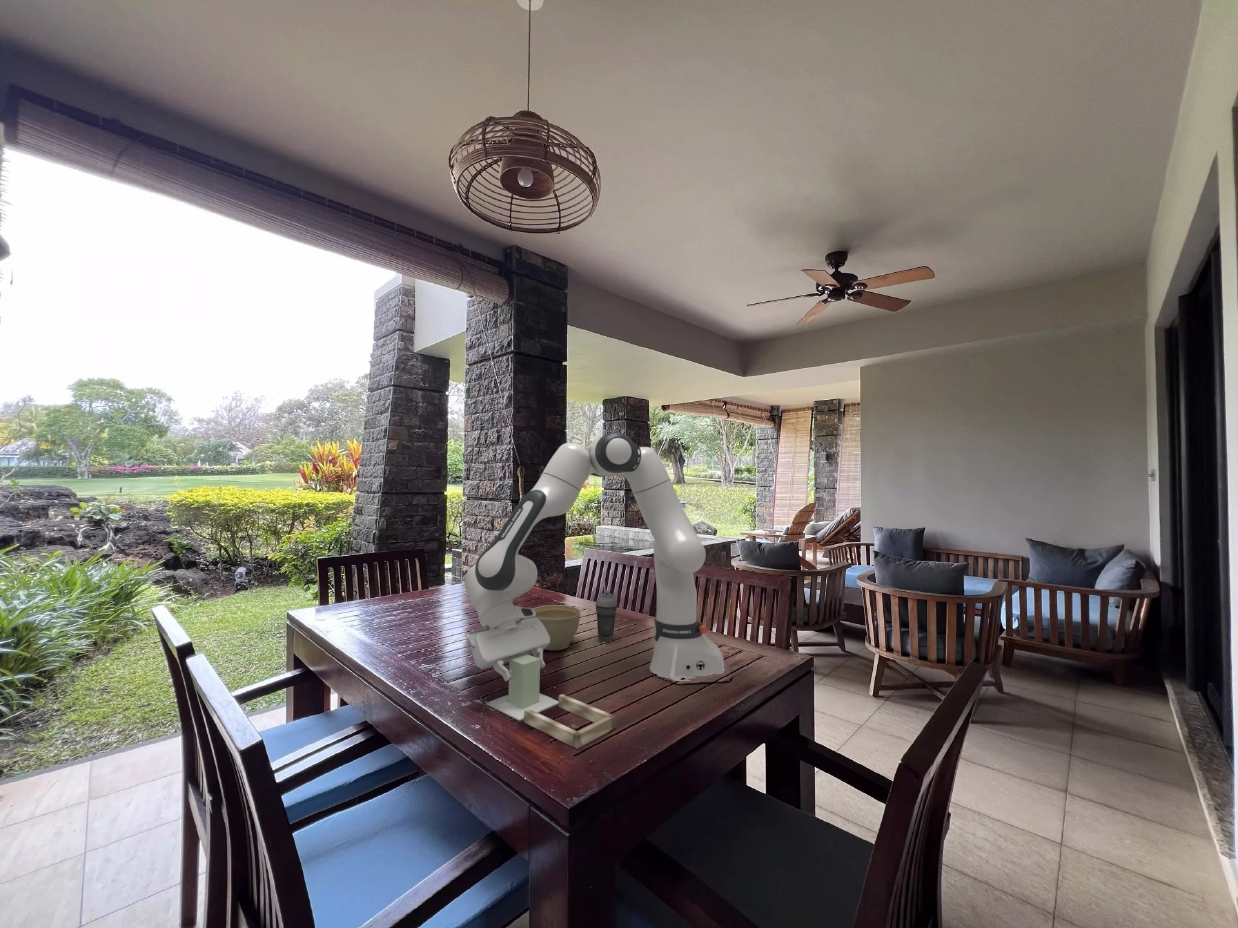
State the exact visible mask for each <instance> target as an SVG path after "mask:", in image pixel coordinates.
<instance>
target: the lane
mask: <svg viewBox="0 0 1238 928" xmlns="http://www.w3.org/2000/svg"><path fill="white" fill-rule="evenodd" d="M558 701H559V704H557V706H558V707H559V708H560V709H563V710H565V711H567V712H569V713H572V714H574V715H577V716H579V717H581V718H583V719H585V720H588V721H590V722H592V723H591V724H590V725H588V726H586V727H584V728H582V729H581V730H578V731H576V730H575V729H572V728H570V727H569V726H566V725H564V724H562V723H560V722H558V721H556V720H553V719H552V718H549V717H547V716H545V715H543V714H541V713H540V712H539V713H537V712H535V711H533V710H530V709H526V710H524V719H523V723H524V724H526V725H529V726H530V727H533V728H534V729H536V730H539V731H541V732H543V733H545V734H546V735H547V736H551V737H552V738H555V739H557V740H559V741H561V743H564V744H566V745H568V746H571V747H572V748H574V749H576V750H578V749H580V748H582V747H584V746H585V745H587V744H589V743H590V742H593V741H594V740H596V739H599V738H600V737H602V736H603V735H605V734H607V733H609V732H610V730H611V731H612V729H613V730H615V729H616V715H613V714H611V713H609V712H606V711H605V710H601V709H599V708H598V707H597V708H596V707H594V706H592V705H589V704H587V703H585V702H582V701H580V700H577V699H575V698H573V697H570V696H568V695H566V694H563V693H562V694H559V695H558ZM614 728H615V729H614Z"/></svg>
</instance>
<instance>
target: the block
mask: <svg viewBox="0 0 1238 928" xmlns="http://www.w3.org/2000/svg"><path fill="white" fill-rule="evenodd" d="M508 665H509V669H508V670H510V669H511V671H512V673H513V675H514V676H513V678H512V679H511V680H508V695H509V697H508V703H510V704H512V705H514V706H516V707H519V708H521V709H524V708H526V707H529V706H531V705H533V704H536V703H538V702H539V693H540V686H541V685H540V684H541V683H540V681H541V680H540V679H541V678H540V677H541V674H540V673H541V669H540V659H539V658H536V656H535V657H534V655H531V654H529V655H528V654H524V655H521V656H518V657H515V658H512V659H510V661H509V664H508Z"/></svg>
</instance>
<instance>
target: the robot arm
mask: <svg viewBox="0 0 1238 928" xmlns="http://www.w3.org/2000/svg"><path fill="white" fill-rule="evenodd" d="M617 474H621V475H622V476H623V477H624V478H625V480H626V481H627V482H628V483H629V485H630V489H631V492H632V494H633V497H634V498H635V501H636V504H637V506H638V509H639V510H640V513H641V516H642V518H643V521H644V523H645V524H646V526H647V528H648V530H649V531H650V533H651V535H652V537H653V545H652V546H653V547H652V548H653V560H654V561H653V563H654V575H655V583H656V617H655V618H654V626H653V630H654V631H653V637H654V646H653V653H652V658H651V662H650V665H649V668H650V670H651V672H653V673H654V674H657V675H658V676H662V677H665V678H670V679H672V680H674V681H690V680H688V679H691V678H696V677H694V676H707V675H712V674H722V673H724V671H725V669H724V663H725V662H724V655H723V653H722V651H721V649H720V648H719V647H718V646H717V644H715V643H714V642H713V641H712V640H710V639H709V637H707V636H706V635H705V634H707V633H708V628H707V626H706V625H704V623H703V622H701V620H699V619H697V607H698V606H697V601H698V599H697V598H698V596H697V594H698V593H697V587H696V584H695V577H694V573H696V572H697V571H699V570H700V569H701V568H702V567H703V566H704V564H705V562H706V556H707V555H706V549H705V547H704V544H703V542H702V541H701V540H700V538H699V536H698V534H697V532H696V530H695V528H694V526H693V525H692V522H691V521H690V518H689V517H688V515H687V513H686V512H685V510H684V508H683V506H682V503H681V502H680V499H679V497H678V494H677V492H676V489H675V488H674V487H675V486H674V485H673V483H672V480H671V478H670V475H669V473H668V471H667V469H666V467H665V465H664V463H663V461H662V459H661V458H660V456H659V455H658V453H657V452H656V451H655V450H654V449H653V448H651V447H649V446H641V447H640V446H638V445H637V443H635V442H633V440H632V439H631V438H630V437H628V436H627V435H626V434H624V433H621V432H615V431H614V432H613V431H612V432H609V433H606V434H603V435H601V436H599V437H596V438H595V439H594V440H593V441H592V442H590V443H589V444H587V445H585V446H582V445H580V444H578V443H574V442H565V443H563V444H561V445H560V446H559V447H558V448H557V449H556V451H555V453H554V454H553V455H552V456H551V458H550V459H549V461H548V463H547V464H546V466H545V467H544V470H543V471H542V474H541V475H540V477H539V479H538V480H537V482H536V483H535V484H534V486H533V488H532V489H530V491H529V492H527V493H526V494H524V496H523V497H522V498H521V500H519V503H518V504H517V505H516V507H515V508H514V510H513V511H512V513H510V516H509V517H508V518H507V520H506V522H505V523H504V525H503V526H502V527H501V529H500V531H499V533H498V534H497V536H495V538H494V540H493V541H492V542H491V543H489V545H488V546H487V547H486V548H484V550H483V551H482V552H481V554H480V555H479V556H478V558H477V560H476V563H475V564H474V565H473V566H471V567H470V568H469V569H468V571H467V572H466V573H465V576H464V587H465V590H466V591H465V592H466V593H467V597H468V598H469V602H470V603H471V605H472V607H473V609H474V610H475V611H476V613H477V615H478V619H479V620H478V621H479V623H480V624H481V627H478V628H472V629H471V630H470V631H469V632H468V634H467V636H466V640H467V641H468V645H469V646H470V649H471V653H472V657H473V660H474V663H475V666H476V667H477V668H479V669H480V670H486V669H487V668H491V667H493V669H494V670H495V672H497V673H498V674H500V675H501V676H502V678H503V680H504V682H507V681H508V682H509V680H511V679H512V678H513V676H514V675H513V673H512V671H511V669H510V670H509V669H508V668H507V667H505V666H504V663H506V662H510V659H512V658H515V657H518V656H521V655H524V654H528V655H531V654H532V656H534V657H536V658H539V659H540V670H542V669H543V668H544V667H546V663H545V661H544V659H543V658H544V657H543V656H544V654H543V653H544V650H545V648H546V647H547V646H548V645H549V643H550V636H549V634H548V632H547V630H546V629H545V627H544V625H543V624H542V622H541V621H540V620H539V619H538V618H534V617H535V616H536V612H535V610H534V609H533V608H531V607H522V606H518V605H514V604H513V603H514V602H513V601H514V600H515V599H517V598H520V597H522V596H523V595H525V594H526V593H529V592H530V591H531V590H532V589H534V587H535V586H536V583H537V582H538V581H537V580H538V575H539V574H538V573H539V572H538V567H537V565H536V563H535V562H534V561H533V560H532V559H529V558H527V557H526V556H523V555H520V554H518V553H519V551H520V549H521V547H522V546H523V544H524V543H525V542H526V539H527V538H528V536H529V535H530V533H531V532H532V529H533V528H534V527H535V526H536V524H537V523H538V522H540V521H541V520H544V519H546V518H549V517H556V516H562V515H564V514H565V513H567V512H569V511H570V509H572V507H573V505H574V504H575V503H576V501H577V499H578V497H579V495H580V492H581V491H582V488H583V486H584V484H585V482H586V480H587V479H588V478H589V477H590V476H593V477H597V478H599V477H600V478H605V477H613V476H616V475H617ZM650 670H649V671H650ZM651 672H650V673H651ZM681 678H685V679H686V680H681Z"/></svg>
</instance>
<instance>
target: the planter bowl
mask: <svg viewBox="0 0 1238 928" xmlns="http://www.w3.org/2000/svg"><path fill="white" fill-rule="evenodd" d="M532 609H534V610H535V612H536V616H535V617H534V618H538V619H539V620H540V621H541V622H542V624H543V625H544V627H545V629H546V630H547V632H548V634H549V636H550V643H549V645H548V646H547V647H546V648H545V649H544V650H546V651H557V652H558V651H561V650H565V649H567V648H569V647H570V644H571V642H572V640H573V639H574V637H575V636H576V634H577V632H578V628H579V626H580V618H581V613H582V612H581V610H580V609H579V608H578V607H575V606H571V605H563V604H550V605H541V606H537V607H534V608H532Z"/></svg>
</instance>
